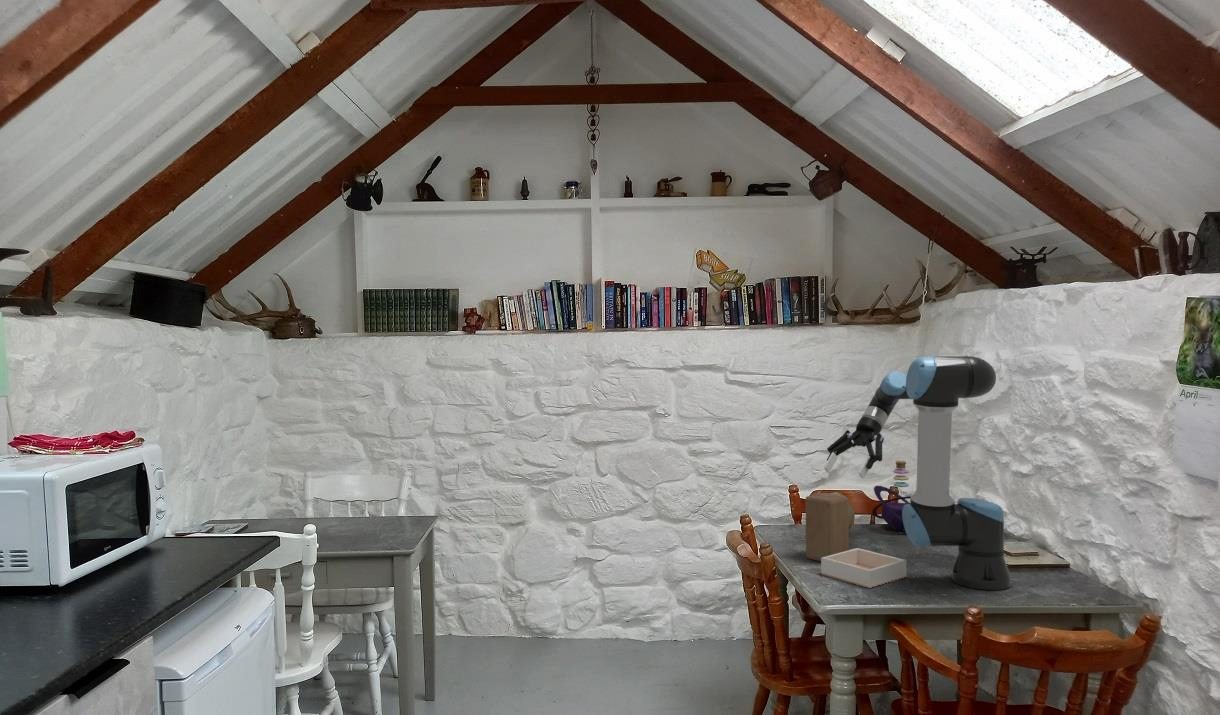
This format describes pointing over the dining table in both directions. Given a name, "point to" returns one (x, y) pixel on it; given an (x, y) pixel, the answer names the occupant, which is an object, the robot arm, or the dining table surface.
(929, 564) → the dining table surface
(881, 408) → the robot arm
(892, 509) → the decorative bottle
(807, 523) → the wooden block
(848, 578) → the shallow white tray
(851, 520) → the speckled cream ball
